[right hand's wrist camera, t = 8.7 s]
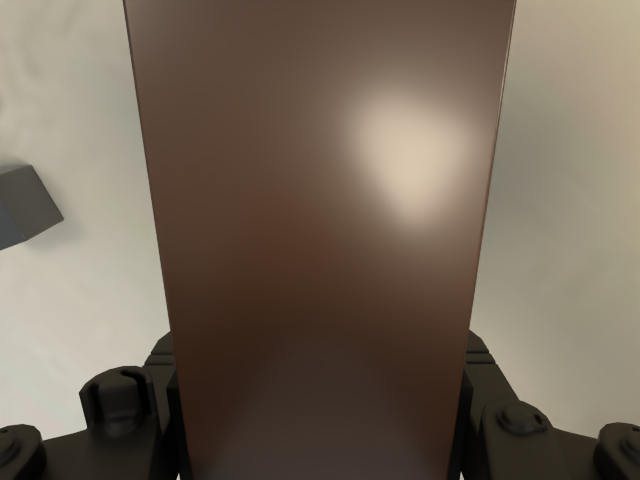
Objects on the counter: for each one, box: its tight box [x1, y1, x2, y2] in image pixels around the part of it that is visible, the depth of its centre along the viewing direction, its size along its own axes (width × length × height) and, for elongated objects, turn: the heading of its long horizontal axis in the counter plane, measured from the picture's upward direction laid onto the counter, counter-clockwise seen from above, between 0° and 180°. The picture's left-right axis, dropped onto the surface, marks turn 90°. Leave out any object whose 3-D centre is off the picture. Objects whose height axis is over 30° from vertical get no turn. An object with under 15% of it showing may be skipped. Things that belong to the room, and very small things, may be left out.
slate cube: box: [0, 165, 64, 250], centre depth 27 cm, size 4×4×4 cm
